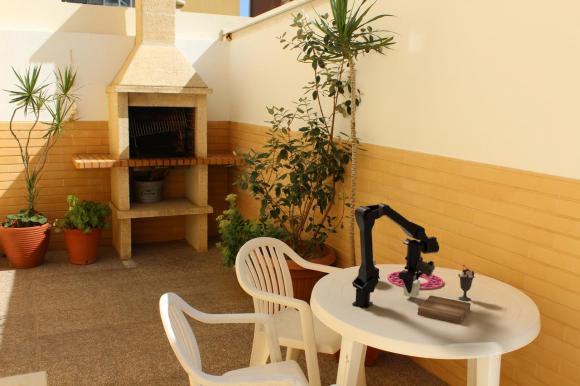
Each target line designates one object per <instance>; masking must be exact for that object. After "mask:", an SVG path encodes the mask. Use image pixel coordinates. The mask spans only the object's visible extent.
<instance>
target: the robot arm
mask: <svg viewBox="0 0 580 386" xmlns="http://www.w3.org/2000/svg"><path fill="white" fill-rule="evenodd" d="M383 216H384V217H385V218H388V220H390V221H391V222H393V223H394V224H396V226H399V227H400V228H401V230H402V232H404V234H405V235H406V236H407V238H406V239H405V240H403V241H402V244H403V245H406V246H407V247H406V256H404V260H405V261H406V263H405V266H404V267H403V268H404V269H403V270H401V271H402V272H400V273H399V274H398V278H399V279H402V280H403V282H404V284H405V287H406V289H407V291H408V293H411V290H412V286H413V282H414V281H415V280H419V278H420V276H421V275H422V274H423V273H424V274H426V275H427V276H430V275H431V274H433V273H434V270H435V269H436V266H435V262H434V261H433V260H429V261H428V262H427V261H424V258H423V256H422V254H423V255H426V254H427V255H428V254H438V252H439V251H440V243H439V241H438V240H437V237H435V236H429V237H428V235H427V234H426V228H425V227H423V226H422V225H420V224H417V223H415V222H412V221H410V220H408V219H407V218H406V217H404V216H403V215H402V214H400V213H398V212H397V211H396V210H395V209H393V208H392V207H391V206H390V205H388V204H386V203H383V202H380V203H377V204H370V205H365V206H364V205H359V206H357V208H355V210H354V218H355V222H356V225H357V227H358V229H359V244H360V266H359V268H358V272H357V276H356V277H355V278H354V280H352V281H351V284H352V287H353V288H355V300H354V301H353V303H352V304H351V305H352V306H355V305H356V306H355V307H359V306H360V307H359V308H365V309H368V308H369V307H370V306H372V305H373V301H371V293H374V291H375V289H376V287H377V285H378V284H379V280H380V279H381V277H380V269H379V268H378V267H376V265H375V266H374V264H373V258H374V250H373V249H374V245H373V228H374V226H375V224H376V223H375V222H376V220H379V219H381V218H382V217H383ZM408 237H409V238H408ZM411 238H412V239H411Z"/></svg>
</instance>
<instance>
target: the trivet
mask: <svg viewBox="0 0 580 386" xmlns="http://www.w3.org/2000/svg"><path fill="white" fill-rule="evenodd" d="M402 271H403V270H399V271H393V272H391V273H389V274H388V275H387V278H386V279H387V282H389V283H390V284H391V285H394V286H396V287H400V288H403V289H404V282H403V280H402V279H399V278H398V274H399V273H400V272H402ZM393 274H395V275H393ZM396 274H397V275H396ZM419 278H420V279H424V280H427V281H426V282H422V283H421V282H420V288H419V291H429V290H436V289H439V288H441V287H443V286H444V283H445V281H444V280H443V278H441V277H440V276H438V275H435V274H433V273H432V274H431V275H430V276H427V275H424V273H423V274H422V275H421V276H420V277H419Z"/></svg>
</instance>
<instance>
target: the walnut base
mask: <svg viewBox="0 0 580 386" xmlns="http://www.w3.org/2000/svg"><path fill="white" fill-rule="evenodd" d="M471 304H472V303H470V302H468V301H462V300H457V299H456V300H455V299H451V298H446V297H442V296H441V297H440V296H436V295H431V294H430V295H429V296H428V297H427V298H426V299H425V300H424V301H422V303H421V304H420V305H419V306H418V307H417V315H419V316H423V317H428V318H432V319H437V320H440V321H444V322H445V321H446V322H450V323H453V324H454V323H455V324H458V325H460V324H461V323H462V322H463V320H464V319H466V317H467V315H468V314H469V312H471Z"/></svg>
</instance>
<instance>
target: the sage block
mask: <svg viewBox="0 0 580 386" xmlns="http://www.w3.org/2000/svg"><path fill="white" fill-rule="evenodd" d="M420 283H421V280H419V279H418V280H415V281H414V282H413V286H412V290H411V293H408V291H407V289H406V287H405V284H404V288H403V296H405V297H410V298H417V297H418V296H419V295H420V290H419V288H420Z"/></svg>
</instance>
